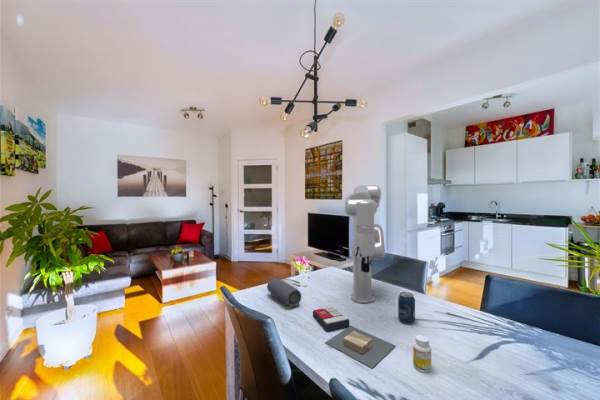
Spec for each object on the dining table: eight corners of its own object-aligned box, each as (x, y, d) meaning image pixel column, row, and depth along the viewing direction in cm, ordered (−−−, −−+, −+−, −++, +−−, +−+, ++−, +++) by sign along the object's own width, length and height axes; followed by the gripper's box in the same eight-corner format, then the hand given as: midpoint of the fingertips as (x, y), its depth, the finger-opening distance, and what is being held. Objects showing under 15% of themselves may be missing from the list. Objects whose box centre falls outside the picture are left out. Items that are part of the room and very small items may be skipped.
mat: (350, 326, 106) (350, 325, 106) (395, 346, 92) (395, 345, 92) (325, 343, 95) (325, 342, 95) (372, 369, 80) (372, 367, 80)
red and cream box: (333, 305, 120) (349, 317, 106) (333, 314, 120) (349, 328, 106) (312, 309, 116) (326, 322, 102) (312, 318, 116) (326, 333, 102)
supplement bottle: (429, 375, 77) (429, 345, 77) (411, 367, 80) (410, 338, 80) (433, 366, 81) (433, 337, 81) (415, 359, 85) (415, 331, 84)
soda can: (395, 321, 110) (395, 294, 110) (401, 315, 115) (401, 290, 115) (412, 326, 105) (411, 299, 105) (417, 320, 111) (417, 294, 110)
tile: (353, 330, 97) (343, 338, 92) (372, 338, 92) (362, 347, 87) (353, 337, 97) (343, 345, 92) (372, 346, 92) (362, 354, 87)
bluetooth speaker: (302, 306, 127) (302, 286, 127) (287, 311, 121) (286, 291, 121) (280, 292, 146) (280, 275, 145) (266, 296, 140) (266, 278, 140)
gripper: (366, 226, 113) (367, 265, 114) (347, 230, 103) (347, 273, 104) (381, 228, 108) (382, 269, 109) (363, 233, 98) (363, 278, 99)
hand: (365, 271), depth 106 cm, fingers closed
